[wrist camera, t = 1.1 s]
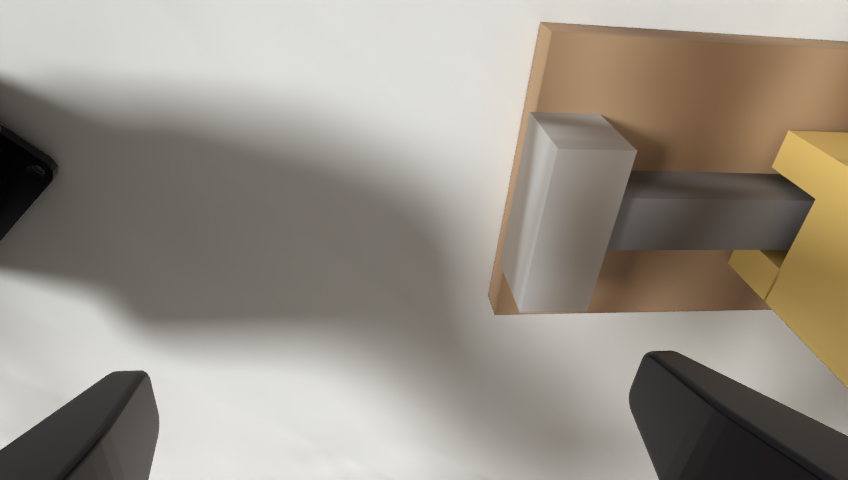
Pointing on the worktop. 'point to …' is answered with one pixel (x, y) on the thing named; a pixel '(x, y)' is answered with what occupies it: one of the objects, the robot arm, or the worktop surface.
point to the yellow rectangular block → (810, 250)
